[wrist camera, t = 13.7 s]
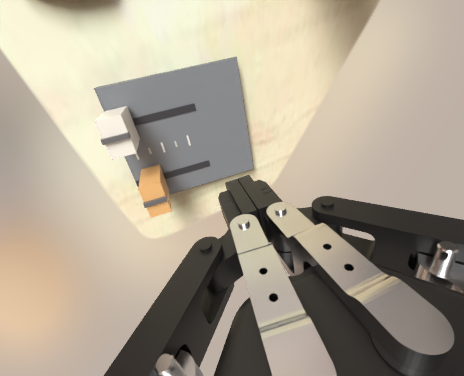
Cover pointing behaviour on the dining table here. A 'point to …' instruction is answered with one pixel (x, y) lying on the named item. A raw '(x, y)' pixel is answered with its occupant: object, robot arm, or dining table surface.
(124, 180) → the dining table surface
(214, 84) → the console
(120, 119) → the cream fader
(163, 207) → the orange fader
